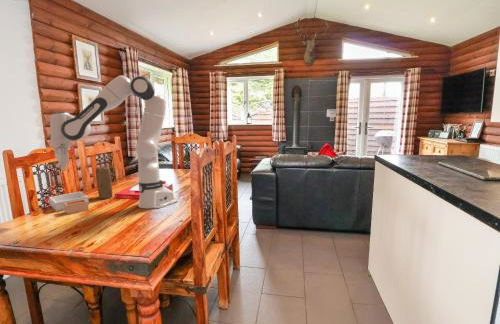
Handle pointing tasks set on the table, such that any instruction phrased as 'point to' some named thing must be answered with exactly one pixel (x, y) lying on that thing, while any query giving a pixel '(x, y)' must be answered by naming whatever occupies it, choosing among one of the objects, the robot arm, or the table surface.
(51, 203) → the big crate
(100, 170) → the block
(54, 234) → the table surface
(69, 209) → the small crate
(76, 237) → the table surface
